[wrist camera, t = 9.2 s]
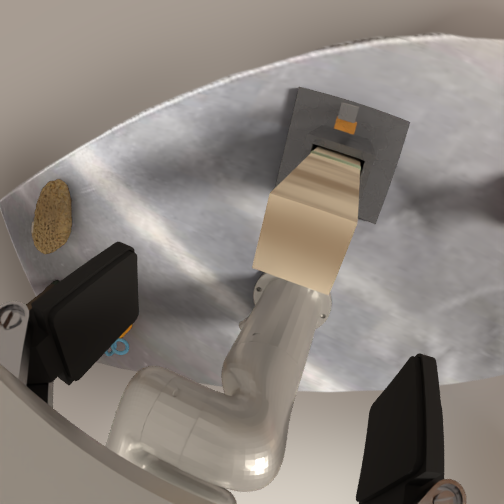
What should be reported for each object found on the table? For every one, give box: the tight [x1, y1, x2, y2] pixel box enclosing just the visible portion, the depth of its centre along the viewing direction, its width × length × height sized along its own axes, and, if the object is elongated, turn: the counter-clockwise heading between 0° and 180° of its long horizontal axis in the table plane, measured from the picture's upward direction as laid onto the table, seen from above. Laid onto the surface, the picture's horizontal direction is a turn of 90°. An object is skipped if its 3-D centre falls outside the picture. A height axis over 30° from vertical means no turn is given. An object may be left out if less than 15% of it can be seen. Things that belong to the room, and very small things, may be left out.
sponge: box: [31, 179, 72, 254], centre depth 58 cm, size 13×8×20 cm
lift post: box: [252, 146, 361, 295], centre depth 23 cm, size 4×4×20 cm
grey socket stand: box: [275, 87, 410, 224], centre depth 30 cm, size 14×14×18 cm
